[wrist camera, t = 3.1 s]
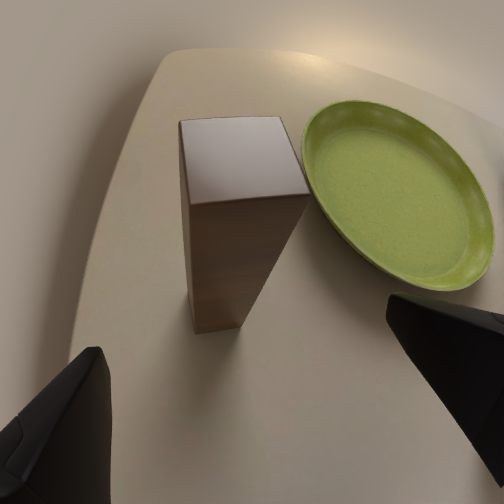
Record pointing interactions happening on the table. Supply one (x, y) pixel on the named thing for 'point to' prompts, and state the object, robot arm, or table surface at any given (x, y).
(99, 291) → the table surface
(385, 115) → the saucer
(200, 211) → the block
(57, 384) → the robot arm
